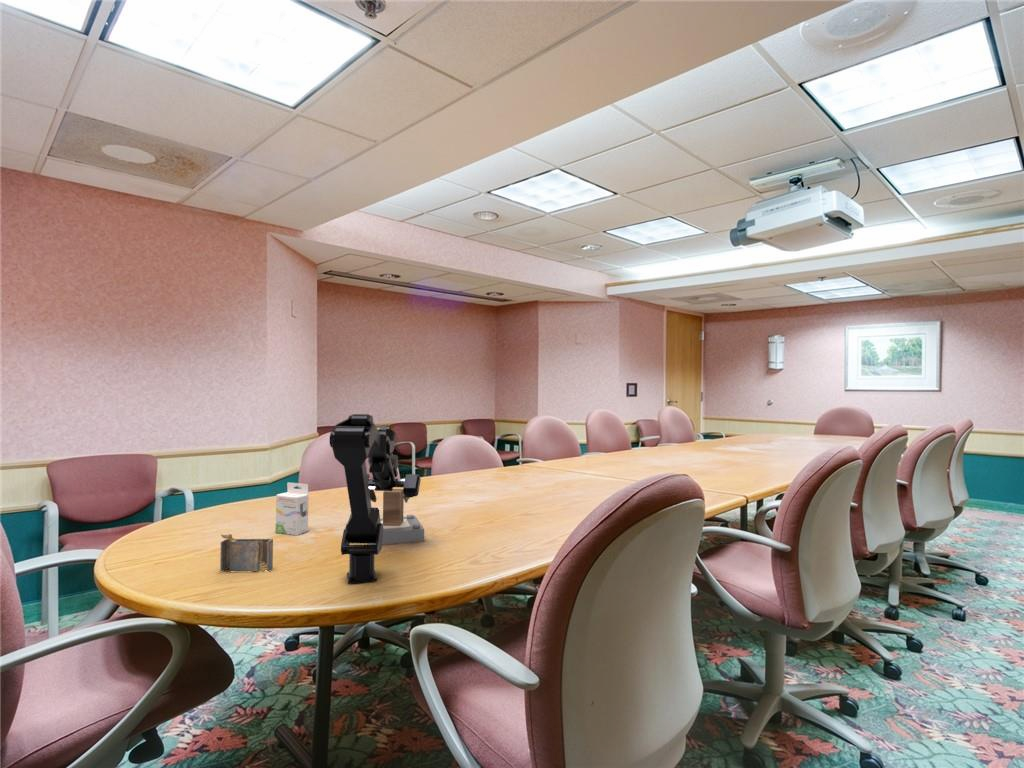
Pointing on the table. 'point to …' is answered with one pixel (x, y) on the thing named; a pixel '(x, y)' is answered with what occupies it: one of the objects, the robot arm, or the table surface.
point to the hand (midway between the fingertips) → (391, 501)
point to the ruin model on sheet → (246, 554)
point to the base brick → (403, 531)
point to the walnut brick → (393, 507)
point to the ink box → (292, 510)
